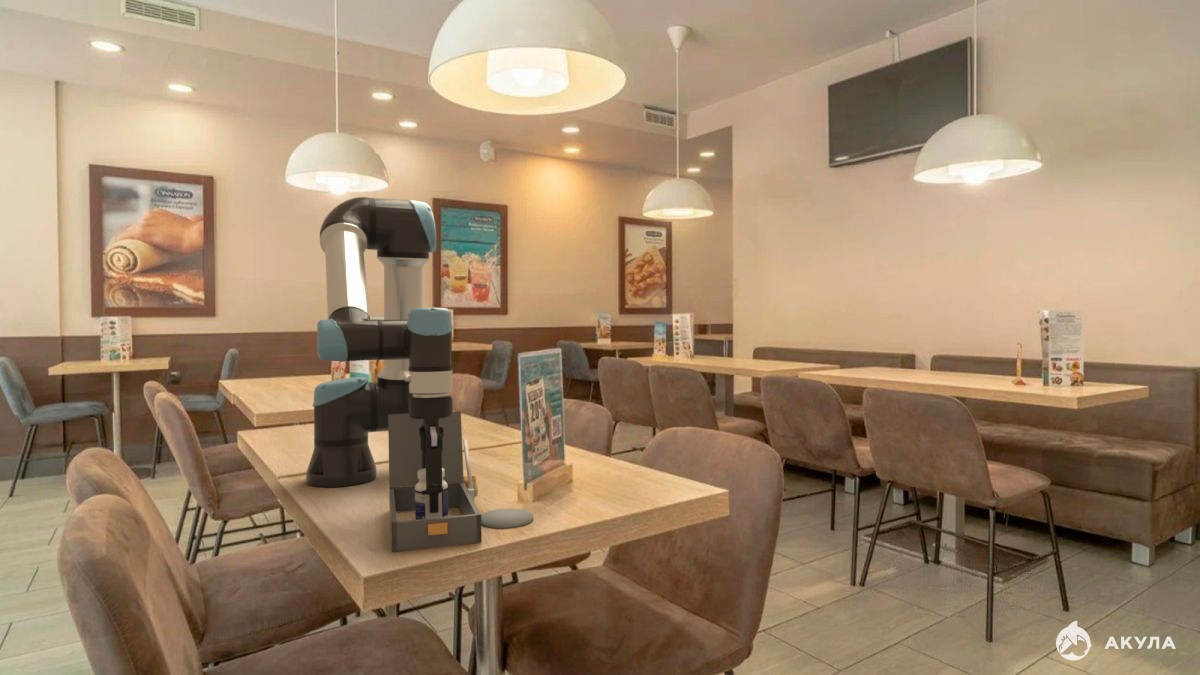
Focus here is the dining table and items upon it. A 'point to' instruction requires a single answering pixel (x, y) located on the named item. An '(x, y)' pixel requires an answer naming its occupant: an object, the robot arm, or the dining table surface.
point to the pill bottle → (421, 498)
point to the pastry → (473, 483)
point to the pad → (506, 518)
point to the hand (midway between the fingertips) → (432, 524)
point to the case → (405, 473)
